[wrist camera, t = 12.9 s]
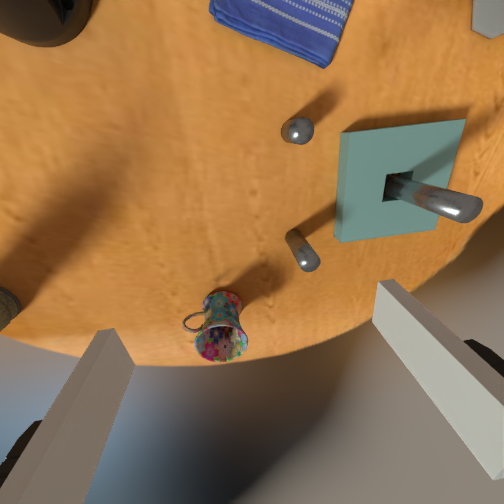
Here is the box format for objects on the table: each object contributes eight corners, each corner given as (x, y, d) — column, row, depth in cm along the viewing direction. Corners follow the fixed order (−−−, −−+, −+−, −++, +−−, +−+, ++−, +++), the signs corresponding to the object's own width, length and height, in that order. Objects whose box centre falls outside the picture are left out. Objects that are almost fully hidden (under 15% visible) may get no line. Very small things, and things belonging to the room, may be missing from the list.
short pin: (280, 120, 35) (290, 118, 30) (301, 118, 36) (314, 116, 30) (281, 143, 37) (290, 146, 32) (301, 141, 37) (313, 143, 32)
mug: (250, 294, 50) (256, 332, 40) (234, 325, 53) (236, 366, 44) (195, 277, 47) (188, 314, 37) (182, 312, 50) (172, 353, 41)
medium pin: (284, 230, 44) (299, 255, 35) (301, 228, 44) (320, 252, 35) (285, 245, 45) (300, 273, 36) (301, 243, 45) (320, 270, 37)
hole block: (340, 132, 37) (349, 132, 34) (449, 119, 38) (466, 118, 35) (334, 236, 45) (340, 242, 43) (423, 224, 46) (435, 229, 43)
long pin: (378, 175, 41) (460, 198, 27) (396, 173, 41) (487, 195, 27) (376, 193, 42) (452, 224, 28) (393, 191, 42) (477, 221, 28)
